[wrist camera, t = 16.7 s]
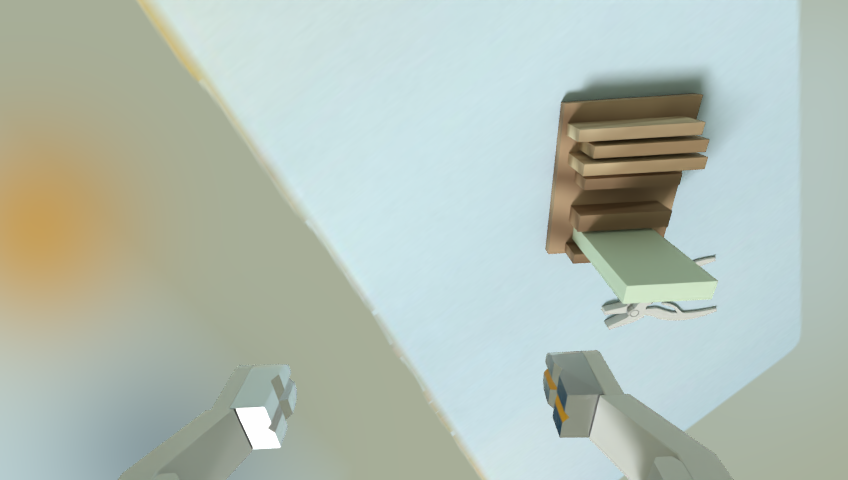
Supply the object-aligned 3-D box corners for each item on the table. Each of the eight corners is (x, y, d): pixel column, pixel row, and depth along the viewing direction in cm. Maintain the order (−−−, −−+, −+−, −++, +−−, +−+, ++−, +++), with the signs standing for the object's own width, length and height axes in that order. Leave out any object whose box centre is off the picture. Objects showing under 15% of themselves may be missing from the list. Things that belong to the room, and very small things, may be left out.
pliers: (720, 316, 51) (611, 345, 53) (713, 309, 52) (606, 338, 55) (720, 259, 47) (601, 294, 49) (711, 253, 48) (596, 287, 51)
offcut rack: (561, 102, 39) (581, 110, 34) (695, 93, 38) (736, 100, 33) (545, 249, 47) (560, 273, 42) (655, 243, 47) (683, 267, 42)
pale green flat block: (574, 223, 44) (626, 286, 33) (641, 219, 44) (718, 281, 32) (572, 238, 45) (622, 303, 34) (637, 234, 45) (711, 299, 33)
